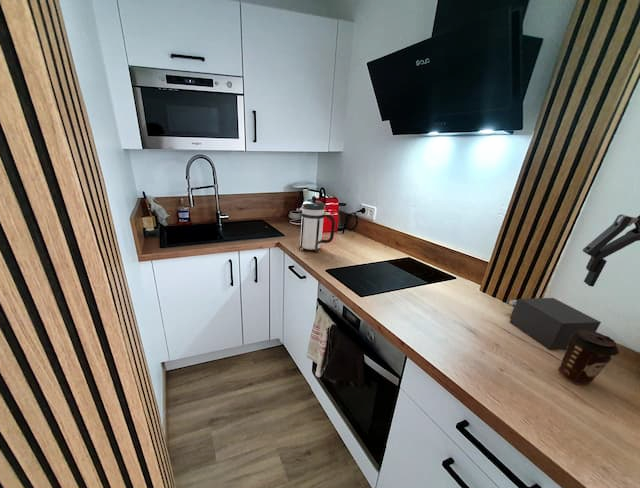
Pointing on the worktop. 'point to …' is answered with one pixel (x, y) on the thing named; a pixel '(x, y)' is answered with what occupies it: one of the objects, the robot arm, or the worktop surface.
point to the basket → (514, 302)
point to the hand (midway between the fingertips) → (624, 290)
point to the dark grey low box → (550, 321)
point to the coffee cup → (586, 356)
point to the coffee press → (314, 225)
